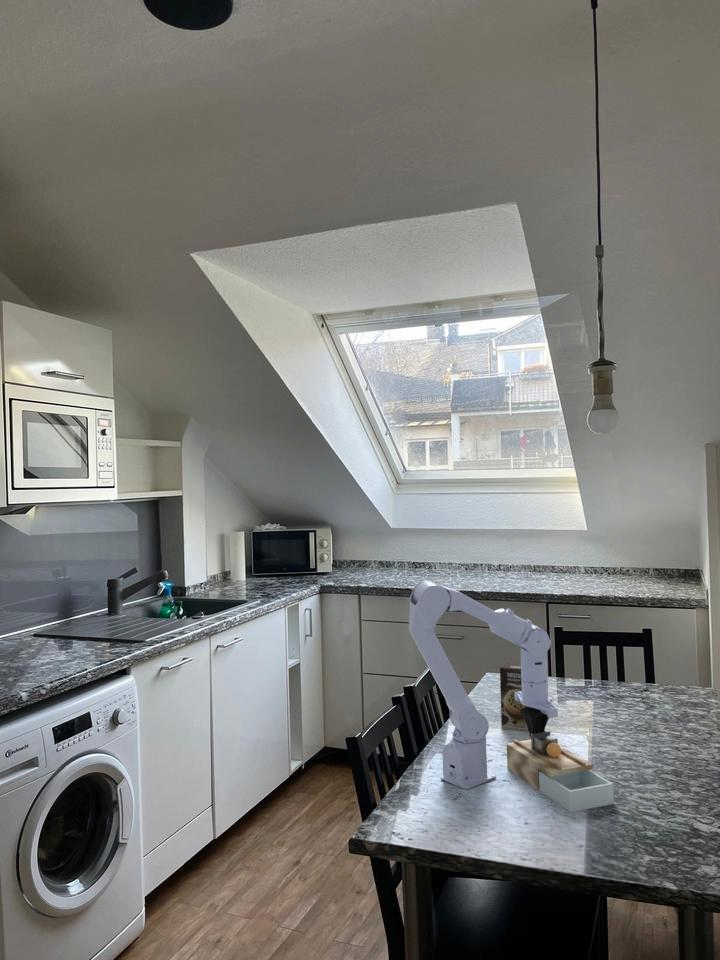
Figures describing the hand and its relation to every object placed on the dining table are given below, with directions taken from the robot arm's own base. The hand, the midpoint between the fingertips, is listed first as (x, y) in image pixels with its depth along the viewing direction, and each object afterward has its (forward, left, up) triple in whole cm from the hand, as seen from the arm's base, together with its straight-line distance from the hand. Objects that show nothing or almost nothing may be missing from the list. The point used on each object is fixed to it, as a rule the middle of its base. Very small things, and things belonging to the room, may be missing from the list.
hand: (536, 741), depth 165 cm
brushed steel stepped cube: (-1, -3, -1) cm, 3 cm away
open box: (-5, -13, -7) cm, 16 cm away
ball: (-2, -6, 0) cm, 7 cm away
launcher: (-1, -3, -7) cm, 8 cm away
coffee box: (+21, +22, -7) cm, 31 cm away
